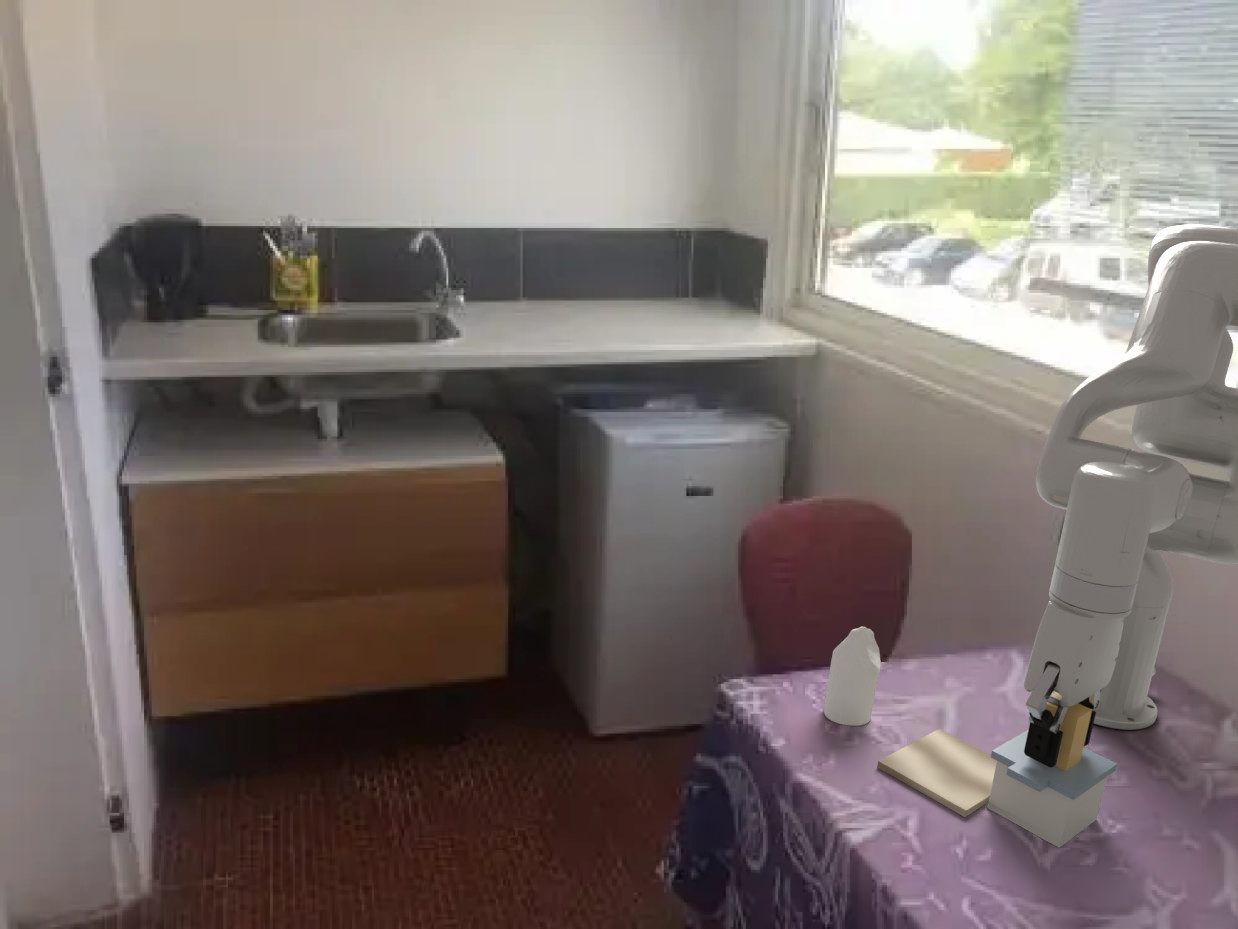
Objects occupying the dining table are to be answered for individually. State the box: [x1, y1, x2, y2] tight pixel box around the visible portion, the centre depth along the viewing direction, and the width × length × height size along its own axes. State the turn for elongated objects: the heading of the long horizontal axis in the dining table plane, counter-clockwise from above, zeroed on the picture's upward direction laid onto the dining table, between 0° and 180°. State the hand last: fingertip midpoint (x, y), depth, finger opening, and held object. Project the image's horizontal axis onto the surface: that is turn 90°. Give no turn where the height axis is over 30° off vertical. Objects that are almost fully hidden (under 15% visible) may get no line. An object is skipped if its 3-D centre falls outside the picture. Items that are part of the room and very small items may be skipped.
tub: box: [986, 761, 1108, 848], centre depth 112 cm, size 8×8×6 cm
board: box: [876, 728, 997, 818], centre depth 119 cm, size 12×11×1 cm
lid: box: [990, 693, 1118, 800], centre depth 110 cm, size 11×9×7 cm
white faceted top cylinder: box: [823, 626, 882, 727], centre depth 128 cm, size 6×12×6 cm
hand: (1056, 748), depth 111 cm, fingers open, 6 cm apart
